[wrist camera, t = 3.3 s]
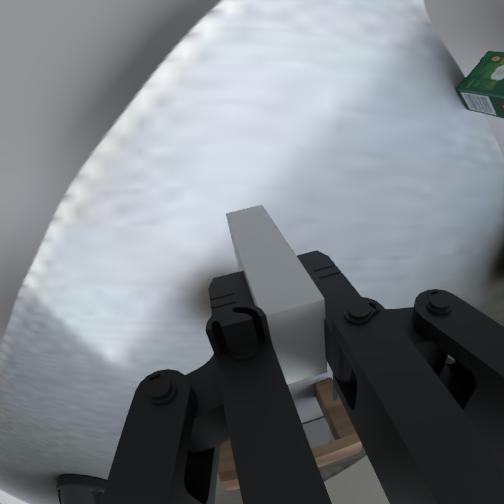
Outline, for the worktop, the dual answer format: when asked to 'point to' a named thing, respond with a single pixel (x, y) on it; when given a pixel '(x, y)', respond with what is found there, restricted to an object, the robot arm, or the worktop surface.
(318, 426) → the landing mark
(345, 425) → the bridge
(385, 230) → the worktop surface
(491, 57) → the coffee box
